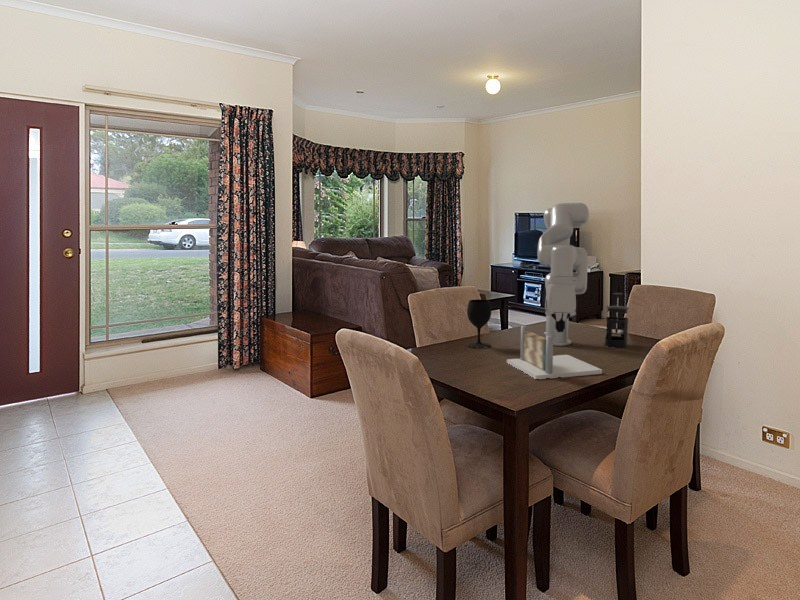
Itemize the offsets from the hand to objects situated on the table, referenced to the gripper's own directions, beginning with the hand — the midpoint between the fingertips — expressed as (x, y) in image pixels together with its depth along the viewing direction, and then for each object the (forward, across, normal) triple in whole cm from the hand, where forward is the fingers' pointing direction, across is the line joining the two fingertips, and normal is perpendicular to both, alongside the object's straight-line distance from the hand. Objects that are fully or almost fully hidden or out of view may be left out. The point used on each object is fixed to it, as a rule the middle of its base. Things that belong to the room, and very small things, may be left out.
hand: (559, 331), depth 199 cm
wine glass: (+14, +24, -42) cm, 50 cm away
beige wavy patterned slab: (+13, +8, -2) cm, 15 cm away
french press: (+14, -36, -40) cm, 55 cm away
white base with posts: (+15, +1, -4) cm, 15 cm away
